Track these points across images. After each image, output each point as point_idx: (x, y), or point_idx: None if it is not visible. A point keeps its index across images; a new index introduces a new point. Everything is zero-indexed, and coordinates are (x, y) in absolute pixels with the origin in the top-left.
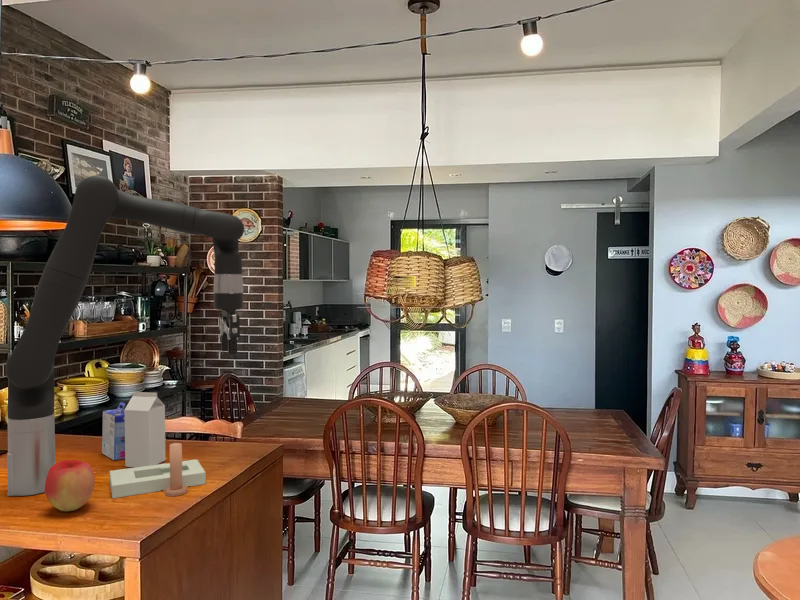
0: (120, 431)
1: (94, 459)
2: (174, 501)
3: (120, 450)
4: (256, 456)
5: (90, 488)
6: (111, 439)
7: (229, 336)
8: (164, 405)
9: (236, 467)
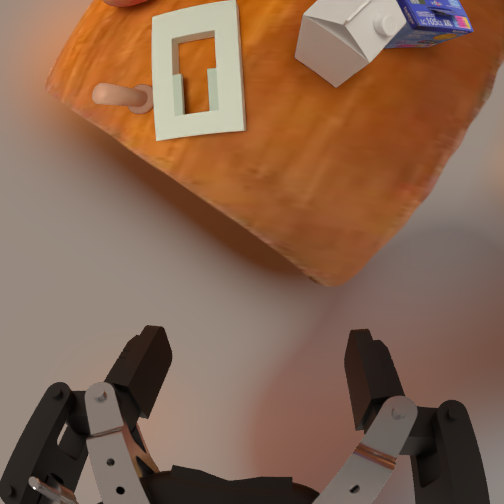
0: None
1: None
2: None
3: None
4: (286, 242)
5: (111, 5)
6: None
7: (55, 387)
8: (368, 61)
9: (234, 197)
